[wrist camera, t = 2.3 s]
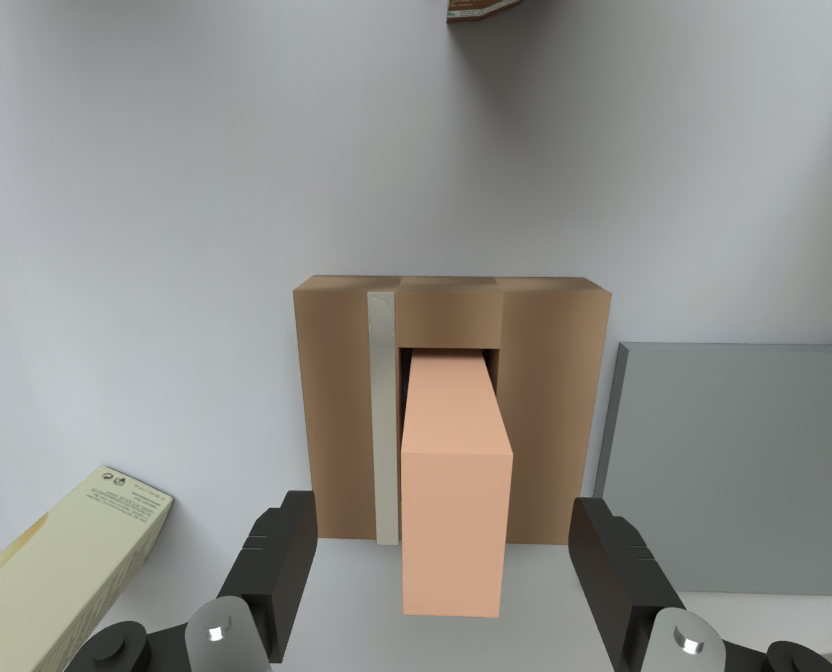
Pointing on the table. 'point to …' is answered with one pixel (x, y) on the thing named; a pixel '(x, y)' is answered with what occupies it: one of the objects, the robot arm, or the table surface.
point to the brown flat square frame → (447, 328)
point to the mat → (724, 463)
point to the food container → (476, 9)
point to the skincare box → (74, 568)
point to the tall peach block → (453, 486)
